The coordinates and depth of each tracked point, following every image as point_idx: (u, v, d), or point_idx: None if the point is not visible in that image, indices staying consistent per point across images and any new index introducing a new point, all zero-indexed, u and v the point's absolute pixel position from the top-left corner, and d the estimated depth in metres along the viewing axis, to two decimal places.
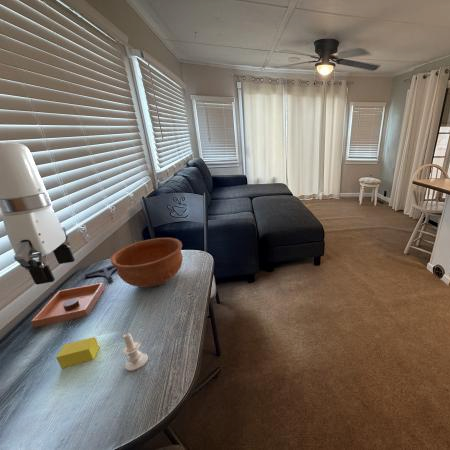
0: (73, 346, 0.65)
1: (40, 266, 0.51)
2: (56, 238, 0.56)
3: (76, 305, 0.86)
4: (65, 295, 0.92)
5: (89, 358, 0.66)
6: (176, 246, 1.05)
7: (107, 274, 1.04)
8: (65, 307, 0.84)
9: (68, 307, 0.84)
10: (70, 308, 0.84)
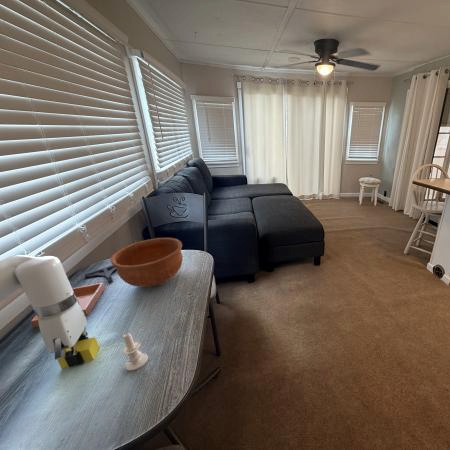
0: None
1: (74, 354, 0.62)
2: (80, 327, 0.64)
3: None
4: None
5: (89, 358, 0.66)
6: (176, 246, 1.05)
7: (107, 274, 1.04)
8: None
9: None
10: None
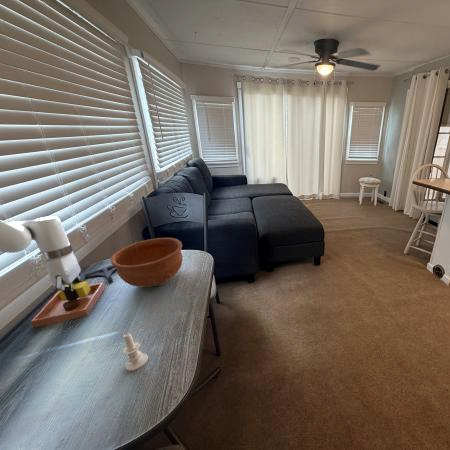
0: None
1: (71, 290, 0.85)
2: (75, 271, 0.87)
3: (76, 305, 0.86)
4: None
5: (82, 295, 0.88)
6: (176, 246, 1.05)
7: (107, 274, 1.04)
8: (65, 307, 0.84)
9: (68, 307, 0.84)
10: (70, 308, 0.84)
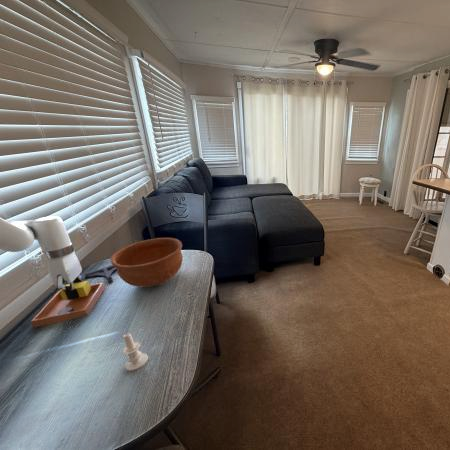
0: None
1: (71, 289, 0.86)
2: (76, 271, 0.88)
3: None
4: None
5: (83, 295, 0.89)
6: (176, 246, 1.05)
7: (107, 274, 1.04)
8: None
9: None
10: None
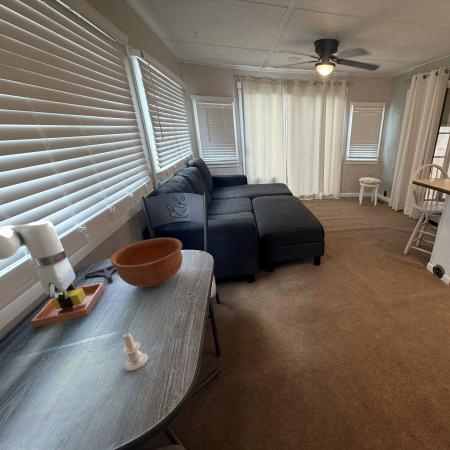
0: None
1: (65, 297, 0.81)
2: (69, 278, 0.83)
3: None
4: None
5: (77, 303, 0.84)
6: (176, 246, 1.05)
7: (107, 274, 1.04)
8: None
9: None
10: None
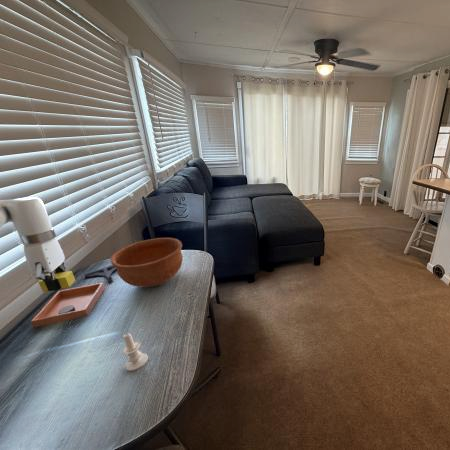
0: None
1: (52, 279, 0.77)
2: (58, 259, 0.80)
3: None
4: (65, 295, 0.92)
5: (65, 286, 0.81)
6: (176, 246, 1.05)
7: (107, 274, 1.04)
8: None
9: None
10: None
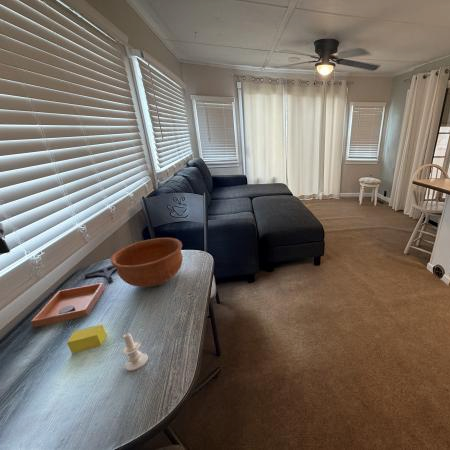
0: (82, 333, 0.70)
1: None
2: None
3: None
4: (65, 295, 0.92)
5: (97, 344, 0.70)
6: (176, 246, 1.05)
7: (107, 274, 1.04)
8: None
9: None
10: None
